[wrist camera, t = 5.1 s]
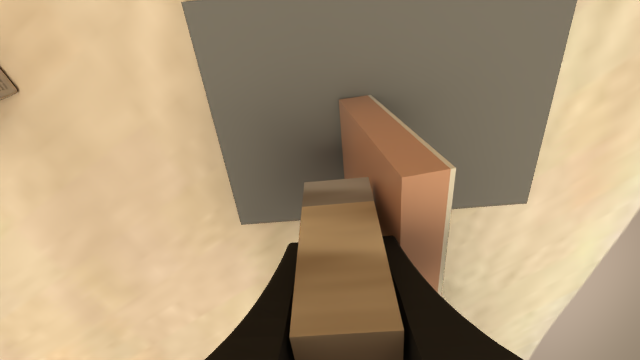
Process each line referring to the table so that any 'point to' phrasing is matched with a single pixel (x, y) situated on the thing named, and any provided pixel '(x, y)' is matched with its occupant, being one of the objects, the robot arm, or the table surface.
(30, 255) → the table surface
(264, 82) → the mat
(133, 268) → the table surface
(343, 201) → the wooden block
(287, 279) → the robot arm
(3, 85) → the coffee box
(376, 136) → the tile
